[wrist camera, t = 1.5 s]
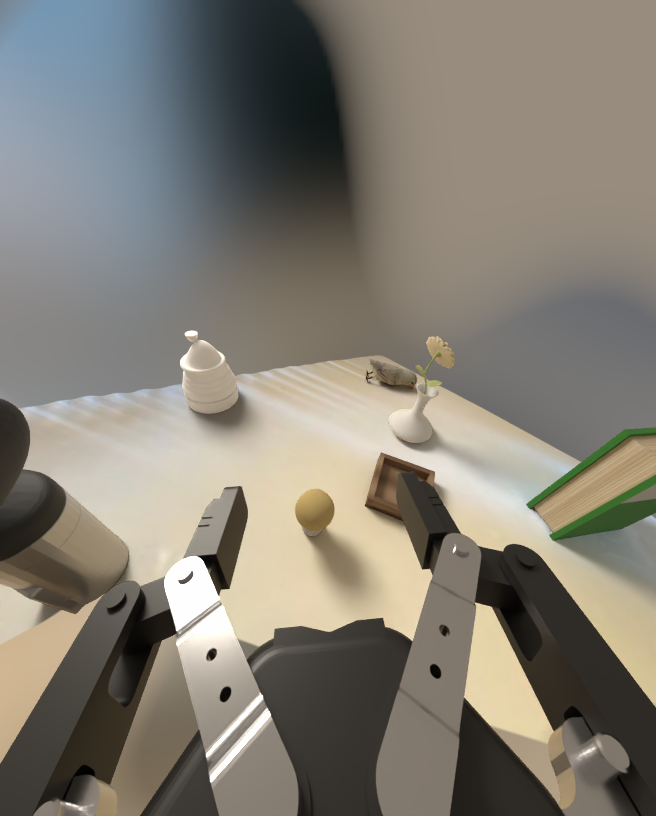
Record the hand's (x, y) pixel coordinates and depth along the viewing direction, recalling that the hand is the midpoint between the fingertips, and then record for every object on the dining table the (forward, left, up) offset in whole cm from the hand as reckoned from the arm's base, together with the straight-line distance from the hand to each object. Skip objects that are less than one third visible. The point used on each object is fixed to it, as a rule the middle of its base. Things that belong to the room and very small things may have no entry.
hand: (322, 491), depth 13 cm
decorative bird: (+64, -1, -36) cm, 74 cm away
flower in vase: (+47, -10, -36) cm, 60 cm away
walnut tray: (+27, -11, -36) cm, 46 cm away
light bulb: (+13, +3, -36) cm, 39 cm away
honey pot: (+34, +41, -36) cm, 65 cm away
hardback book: (+37, -47, -36) cm, 69 cm away
